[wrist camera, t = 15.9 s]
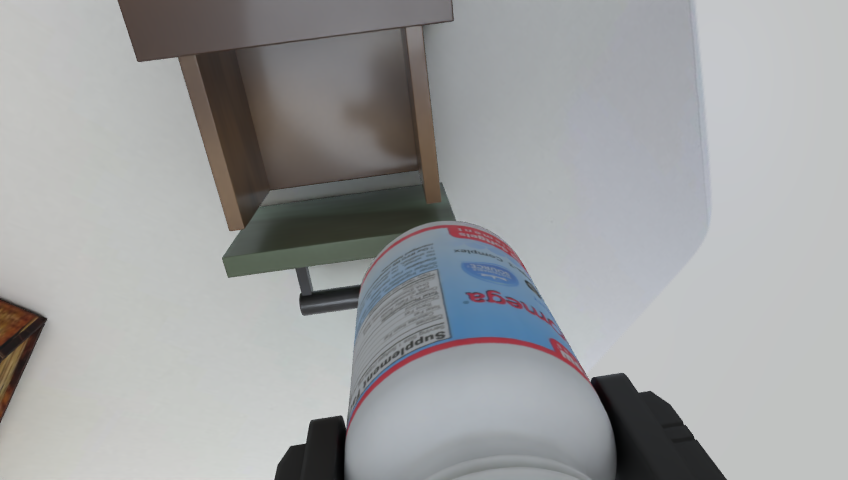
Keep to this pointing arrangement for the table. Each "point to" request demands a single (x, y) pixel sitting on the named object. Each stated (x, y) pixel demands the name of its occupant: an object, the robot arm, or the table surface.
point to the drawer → (318, 149)
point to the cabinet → (263, 22)
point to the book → (15, 347)
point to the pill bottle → (466, 370)
